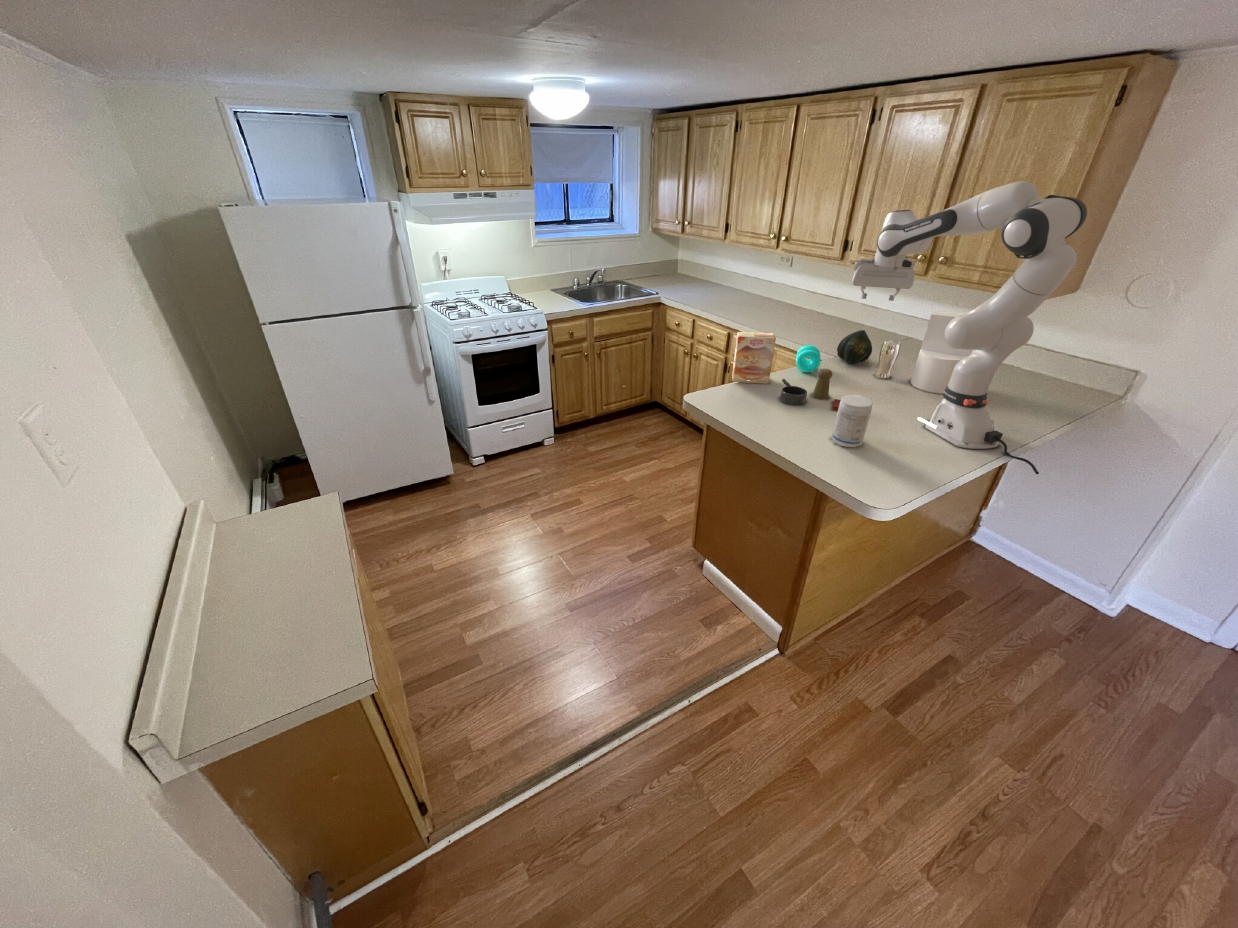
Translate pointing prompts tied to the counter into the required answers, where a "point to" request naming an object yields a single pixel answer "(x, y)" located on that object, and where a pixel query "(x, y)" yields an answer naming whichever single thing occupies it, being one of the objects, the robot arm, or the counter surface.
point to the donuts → (808, 352)
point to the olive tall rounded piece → (822, 384)
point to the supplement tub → (852, 420)
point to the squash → (855, 347)
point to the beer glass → (887, 358)
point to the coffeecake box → (753, 357)
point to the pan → (793, 395)
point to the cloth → (836, 404)
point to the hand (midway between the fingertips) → (877, 299)
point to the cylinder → (937, 355)
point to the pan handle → (785, 382)
